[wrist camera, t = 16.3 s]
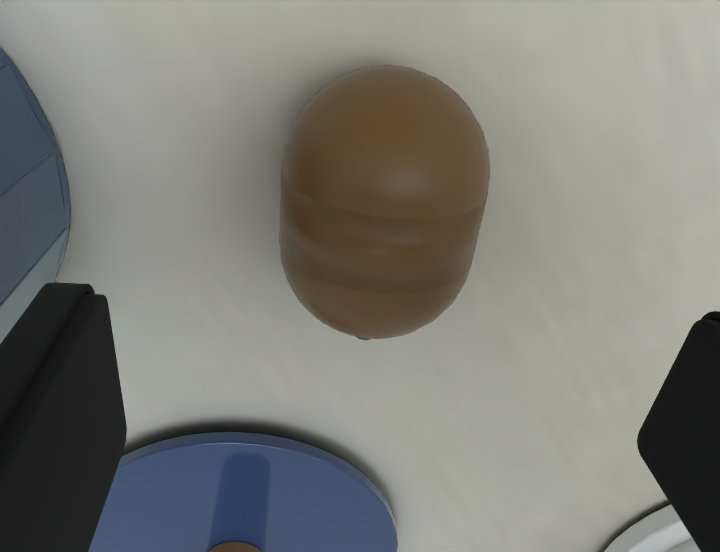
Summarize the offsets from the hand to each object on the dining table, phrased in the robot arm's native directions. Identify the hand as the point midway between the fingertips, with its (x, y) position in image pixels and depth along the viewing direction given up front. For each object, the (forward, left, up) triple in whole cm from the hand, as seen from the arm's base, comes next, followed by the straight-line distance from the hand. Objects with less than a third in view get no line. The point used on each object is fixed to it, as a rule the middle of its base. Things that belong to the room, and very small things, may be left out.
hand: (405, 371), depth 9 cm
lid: (+4, +18, -9) cm, 21 cm away
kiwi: (0, 0, -10) cm, 10 cm away
